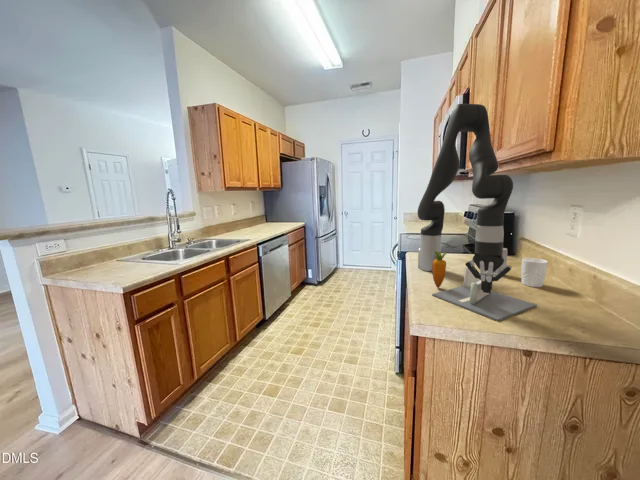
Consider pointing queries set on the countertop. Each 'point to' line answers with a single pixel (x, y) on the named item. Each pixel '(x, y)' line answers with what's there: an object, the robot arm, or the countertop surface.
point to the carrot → (438, 269)
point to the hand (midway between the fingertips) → (486, 292)
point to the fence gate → (476, 292)
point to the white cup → (533, 271)
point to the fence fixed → (470, 278)
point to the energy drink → (504, 262)
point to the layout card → (486, 303)
